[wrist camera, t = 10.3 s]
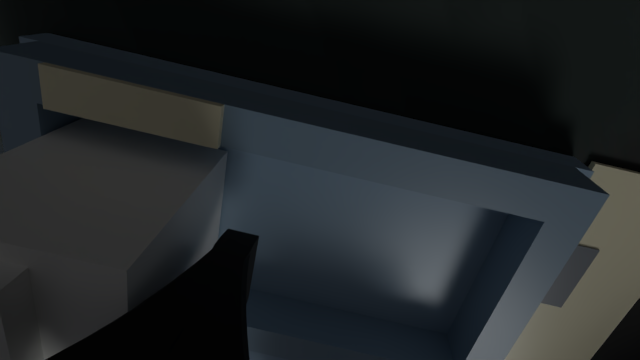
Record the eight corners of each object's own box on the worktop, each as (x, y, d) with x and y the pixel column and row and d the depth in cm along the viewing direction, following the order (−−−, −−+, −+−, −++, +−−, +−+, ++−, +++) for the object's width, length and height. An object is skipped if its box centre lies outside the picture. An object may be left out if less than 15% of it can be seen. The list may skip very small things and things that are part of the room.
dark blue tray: (504, 460, 17) (528, 538, 14) (83, 365, 17) (36, 427, 14) (715, 190, 11) (820, 247, 8) (48, 33, 10) (-46, 44, 8)
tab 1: (215, 265, 12) (112, 455, 7) (91, 236, 12) (-98, 407, 7) (227, 151, 10) (103, 298, 5) (83, 117, 10) (-180, 234, 5)
